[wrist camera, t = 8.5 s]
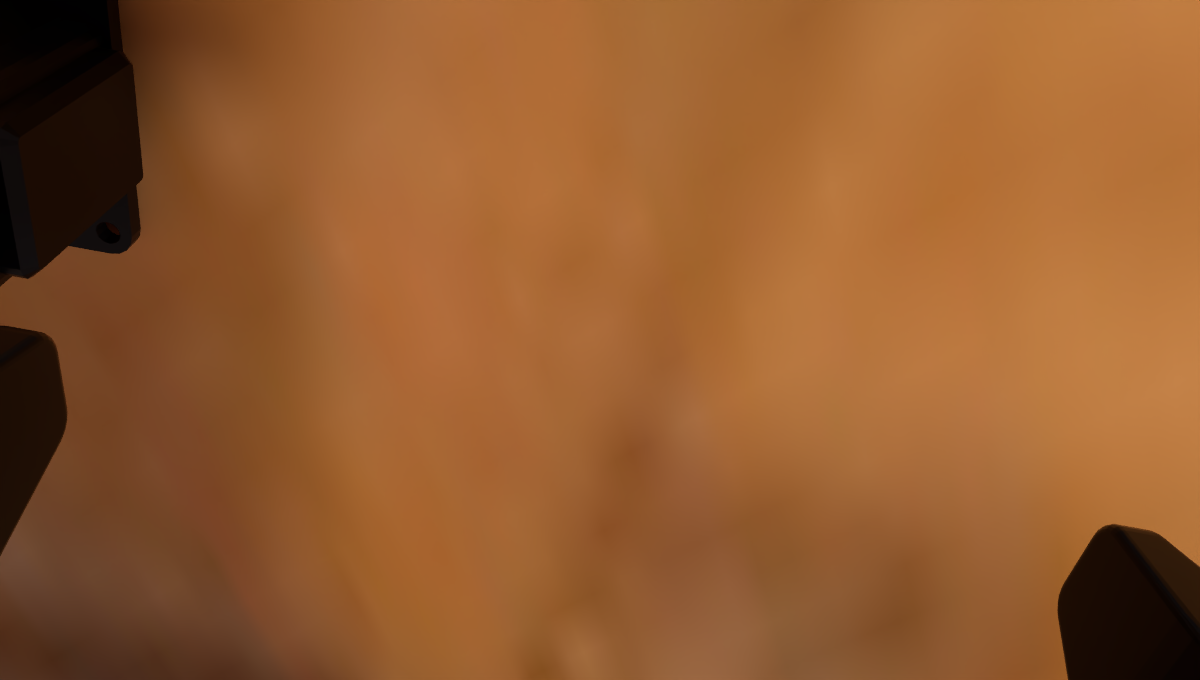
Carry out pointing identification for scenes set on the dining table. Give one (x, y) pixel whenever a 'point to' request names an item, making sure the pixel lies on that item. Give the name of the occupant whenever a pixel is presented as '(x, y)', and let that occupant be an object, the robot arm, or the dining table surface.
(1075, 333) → the dining table surface
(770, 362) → the dining table surface
